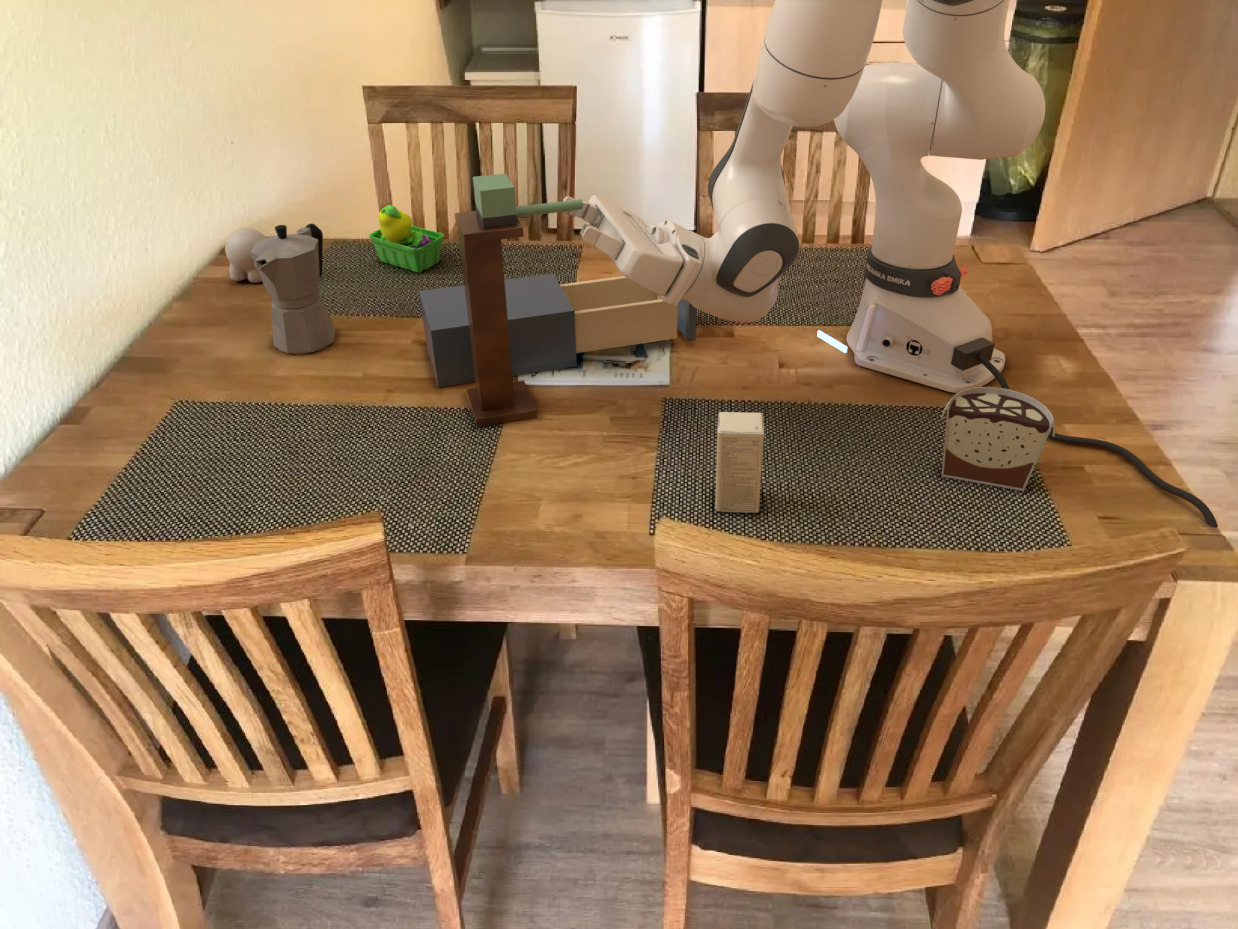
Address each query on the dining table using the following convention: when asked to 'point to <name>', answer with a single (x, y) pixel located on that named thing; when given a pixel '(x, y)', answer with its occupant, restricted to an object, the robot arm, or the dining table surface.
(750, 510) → the box
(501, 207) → the brush
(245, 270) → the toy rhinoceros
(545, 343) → the cabinet
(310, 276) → the coffeepot
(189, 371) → the dining table surface
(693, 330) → the drawer
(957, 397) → the food container
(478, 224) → the pedestal
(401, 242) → the fruit basket
